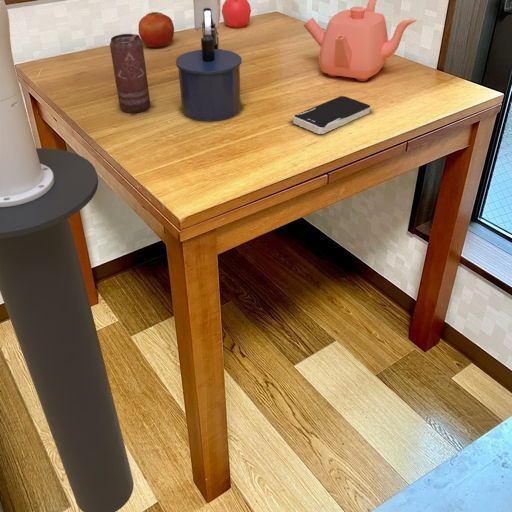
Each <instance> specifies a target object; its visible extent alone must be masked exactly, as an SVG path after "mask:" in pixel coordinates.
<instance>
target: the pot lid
mask: <svg viewBox="0 0 512 512" xmlns="http://www.w3.org/2000/svg"><path fill="white" fill-rule="evenodd" d="M200 43H201V44H200V45H201V46H200V47H201V49H195V50H191V51H188V52H185V53H183V54H181V55H179V56H178V57H177V58H176V59H175V66H176V68H177V69H178V68H179V69H180V70H182V71H185V72H189V73H194V74H218V73H223V72H228V71H231V70H233V69H235V68H237V67H239V66H241V65H242V62H243V60H242V57H241V56H240V54H238V53H237V52H234V51H232V50H228V49H221V48H219V49H214V38H213V37H203V36H202V37H201V38H200Z"/></svg>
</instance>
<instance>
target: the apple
mask: <svg viewBox="0 0 512 512" xmlns="http://www.w3.org/2000/svg"><path fill="white" fill-rule="evenodd" d="M251 12H252V8H251V4H250V3H249V1H248V0H225V1H224V2H223V3H222V7H221V14H222V19H223V22H224V24H225V25H227V26H228V27H230V28H232V29H233V28H234V29H241V28H244V27H245V26H246V25H248V23H250V19H251Z"/></svg>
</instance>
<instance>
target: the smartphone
mask: <svg viewBox="0 0 512 512" xmlns="http://www.w3.org/2000/svg"><path fill="white" fill-rule="evenodd" d="M370 112H371V105H370V104H368V103H364V102H362V101H359V100H357V99H355V98H354V99H353V98H351V97H348V96H346V95H340V96H338V97H335V98H332V99H330V100H328V101H325V102H323V103H321V104H318V105H316V106H313V107H311V108H309V109H306V110H304V111H301V112H299V113H296V114H293V116H292V124H294V125H296V126H298V127H301V128H303V129H306V130H307V131H310V132H312V133H314V134H317V135H324V134H326V133H328V132H331V131H333V130H335V129H338V128H339V127H340V128H341V127H342V126H344V125H346V124H349V123H350V122H353V121H355V120H357V119H359V118H361V117H364V116H366V115H368V114H370Z"/></svg>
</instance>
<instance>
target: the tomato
mask: <svg viewBox="0 0 512 512" xmlns="http://www.w3.org/2000/svg"><path fill="white" fill-rule="evenodd" d="M138 35H139V37H140V39H141V40H142V43H143V44H144V45H145V46H146V47H149V48H151V47H152V48H158V47H164V46H167V45H168V44H169V43H170V42H172V41H173V39H174V35H175V26H174V23H173V20H172V18H171V17H170V16H168V15H166V14H164V13H162V12H159V11H151V12H148V13H147V14H146V15H144V16H143V17H142V18H141V19H140V20H139V22H138Z"/></svg>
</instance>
